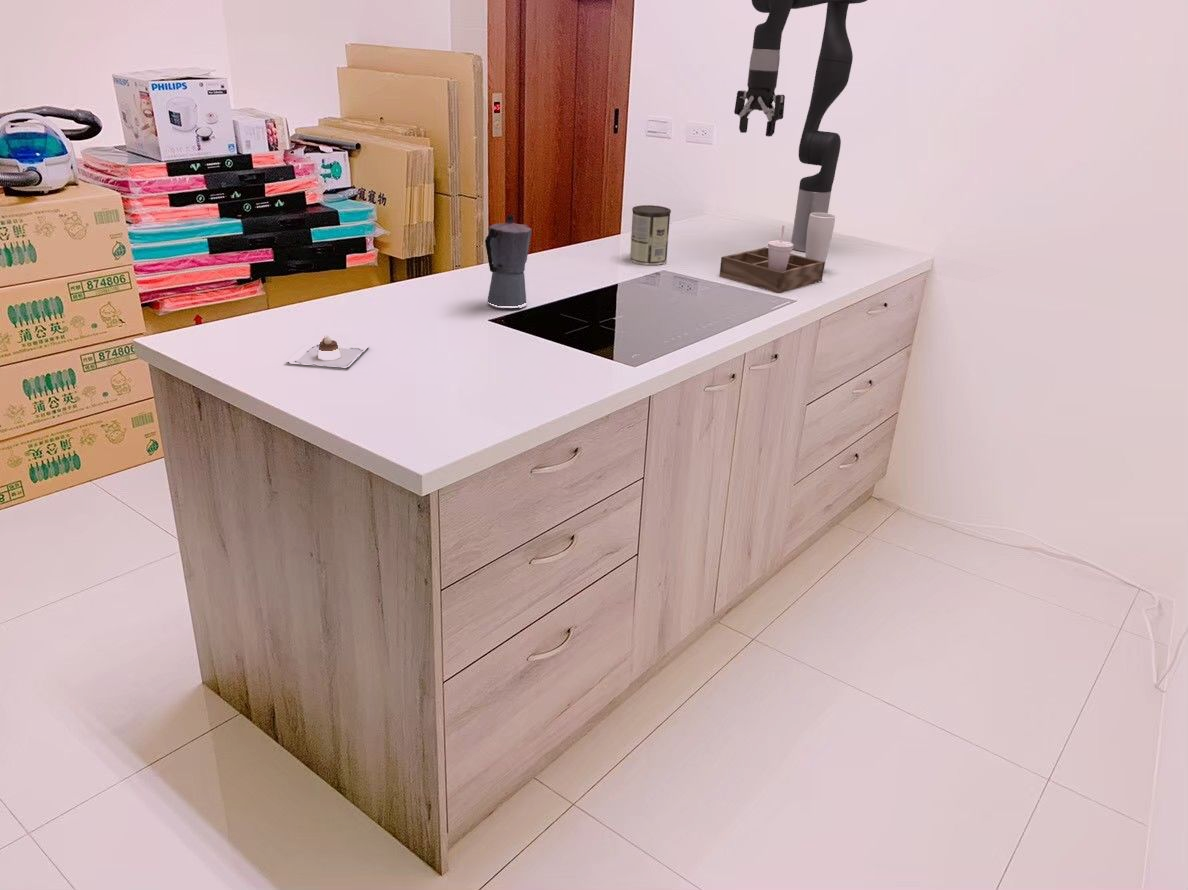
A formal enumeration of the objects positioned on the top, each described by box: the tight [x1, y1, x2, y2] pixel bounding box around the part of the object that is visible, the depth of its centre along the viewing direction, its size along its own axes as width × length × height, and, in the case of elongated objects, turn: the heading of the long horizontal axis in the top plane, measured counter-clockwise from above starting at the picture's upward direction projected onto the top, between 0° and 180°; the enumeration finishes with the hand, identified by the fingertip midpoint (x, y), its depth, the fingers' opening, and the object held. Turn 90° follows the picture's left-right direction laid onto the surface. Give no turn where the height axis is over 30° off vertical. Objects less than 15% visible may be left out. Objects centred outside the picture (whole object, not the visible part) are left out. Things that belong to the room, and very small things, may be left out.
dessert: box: [318, 335, 338, 351], centre depth 163 cm, size 12×12×5 cm
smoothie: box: [766, 224, 794, 272], centre depth 219 cm, size 6×6×14 cm
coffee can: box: [629, 204, 672, 266], centre depth 236 cm, size 10×10×14 cm
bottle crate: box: [719, 247, 826, 294], centre depth 227 cm, size 19×19×5 cm
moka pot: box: [484, 214, 532, 306], centre depth 192 cm, size 10×15×20 cm, turn 155°
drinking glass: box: [804, 212, 836, 268], centre depth 234 cm, size 7×7×15 cm
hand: (755, 134), depth 233 cm, fingers open, 8 cm apart
